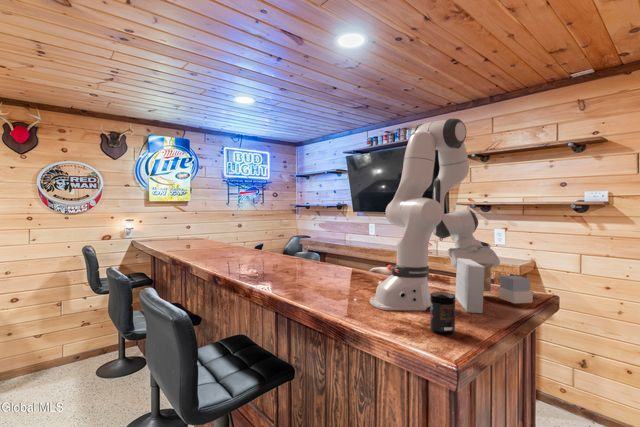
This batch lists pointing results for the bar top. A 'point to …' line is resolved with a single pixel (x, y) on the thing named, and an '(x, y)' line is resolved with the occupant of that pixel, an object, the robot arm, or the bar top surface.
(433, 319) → the supplement container
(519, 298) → the base block
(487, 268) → the maple pillar
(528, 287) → the top block
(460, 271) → the skincare box
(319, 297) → the bar top surface
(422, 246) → the robot arm
